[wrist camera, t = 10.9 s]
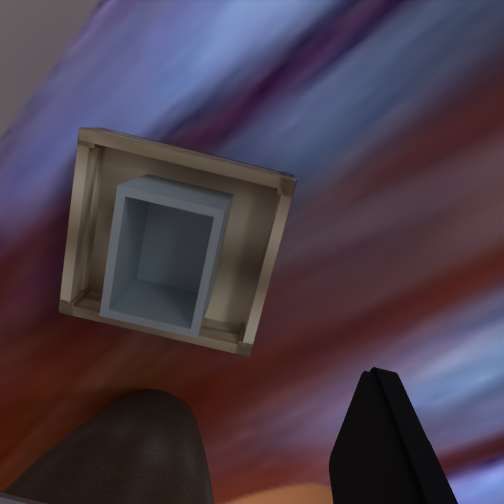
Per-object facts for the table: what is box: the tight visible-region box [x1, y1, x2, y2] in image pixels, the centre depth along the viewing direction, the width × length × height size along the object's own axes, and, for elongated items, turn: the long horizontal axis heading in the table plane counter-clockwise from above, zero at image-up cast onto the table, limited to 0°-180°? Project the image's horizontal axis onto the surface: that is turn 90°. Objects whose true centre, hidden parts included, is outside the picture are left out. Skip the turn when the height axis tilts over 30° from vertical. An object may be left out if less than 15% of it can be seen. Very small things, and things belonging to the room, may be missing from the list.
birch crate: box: [59, 128, 297, 357], centre depth 29 cm, size 12×13×4 cm
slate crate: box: [99, 174, 234, 338], centre depth 27 cm, size 8×6×6 cm
